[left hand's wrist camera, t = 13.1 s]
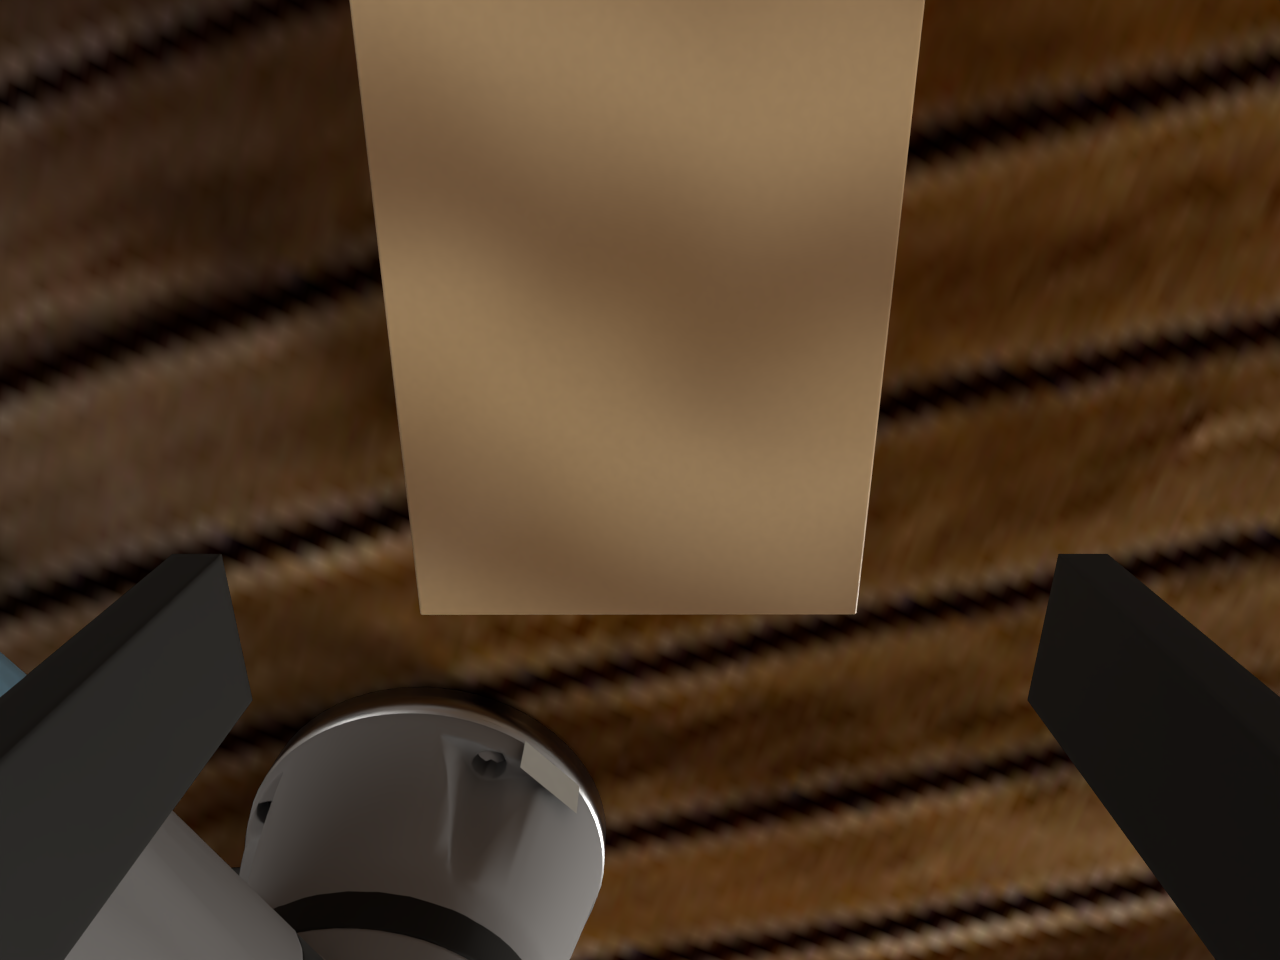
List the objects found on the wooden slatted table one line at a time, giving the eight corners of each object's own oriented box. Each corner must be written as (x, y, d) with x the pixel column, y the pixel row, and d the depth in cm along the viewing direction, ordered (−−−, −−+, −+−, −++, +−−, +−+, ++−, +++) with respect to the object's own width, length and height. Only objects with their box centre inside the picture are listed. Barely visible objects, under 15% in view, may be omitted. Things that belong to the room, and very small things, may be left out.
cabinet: (448, -145, 23) (304, -381, 13) (826, -146, 23) (968, -383, 13) (493, 466, 30) (419, 615, 20) (784, 465, 30) (856, 615, 20)
